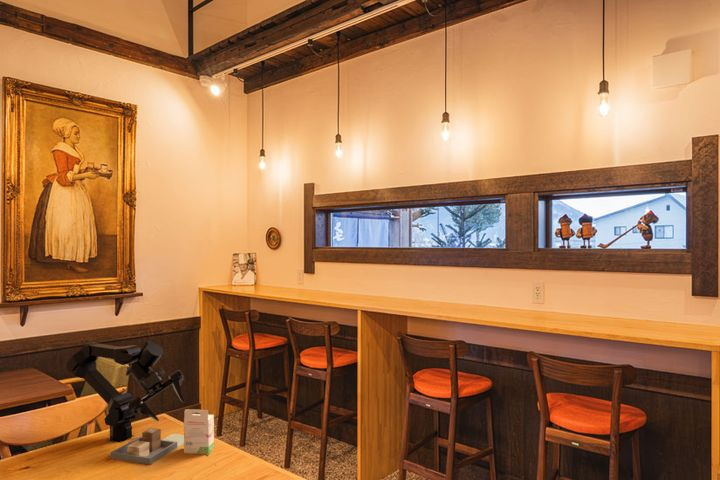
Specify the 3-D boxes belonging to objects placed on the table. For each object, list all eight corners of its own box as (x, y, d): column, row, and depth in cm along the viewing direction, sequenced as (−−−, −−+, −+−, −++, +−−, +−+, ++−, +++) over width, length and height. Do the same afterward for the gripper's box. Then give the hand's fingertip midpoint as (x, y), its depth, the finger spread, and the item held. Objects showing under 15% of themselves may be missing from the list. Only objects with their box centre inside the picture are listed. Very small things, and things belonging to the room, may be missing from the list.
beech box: (127, 458, 153) (127, 446, 153) (137, 452, 158) (137, 440, 158) (139, 460, 152) (139, 447, 152) (149, 454, 156) (149, 442, 156)
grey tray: (110, 460, 154) (110, 452, 154) (139, 443, 166) (139, 436, 166) (150, 466, 149) (150, 458, 149) (177, 449, 162) (177, 441, 162)
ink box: (214, 449, 162) (215, 405, 162) (208, 456, 157) (208, 410, 157) (189, 448, 163) (190, 404, 163) (182, 454, 158) (183, 409, 158)
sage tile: (155, 445, 165) (155, 443, 165) (172, 435, 174) (172, 433, 174) (178, 448, 162) (178, 447, 162) (194, 438, 171) (194, 436, 171)
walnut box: (142, 450, 159) (142, 431, 159) (150, 445, 163) (150, 427, 163) (152, 452, 158) (152, 433, 158) (160, 447, 162) (160, 428, 162)
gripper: (115, 384, 154) (142, 422, 149) (168, 350, 164) (195, 384, 160) (119, 396, 162) (145, 433, 158) (170, 363, 173) (196, 396, 168)
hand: (171, 411), depth 161 cm, fingers open, 9 cm apart
